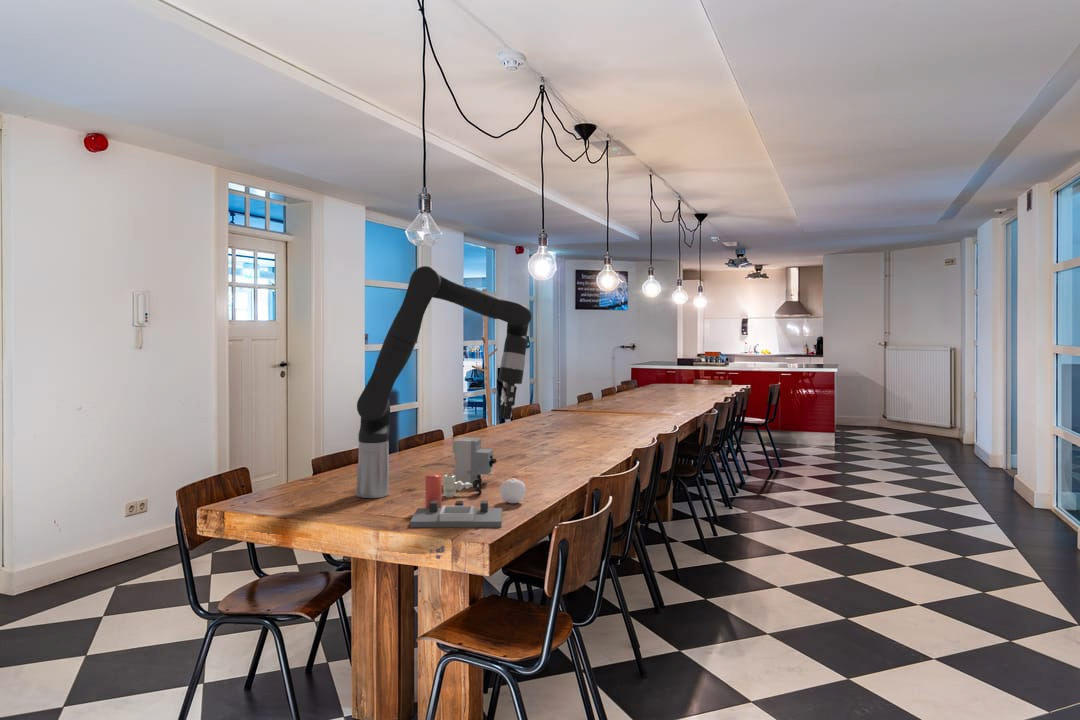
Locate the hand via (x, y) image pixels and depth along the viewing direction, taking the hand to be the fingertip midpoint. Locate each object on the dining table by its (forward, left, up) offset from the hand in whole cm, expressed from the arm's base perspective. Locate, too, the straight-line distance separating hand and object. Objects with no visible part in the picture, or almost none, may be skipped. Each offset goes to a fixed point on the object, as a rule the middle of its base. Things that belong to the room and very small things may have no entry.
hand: (504, 418), depth 209 cm
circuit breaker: (-10, +21, -25) cm, 34 cm away
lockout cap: (-20, -16, -25) cm, 36 cm away
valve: (-13, +2, -25) cm, 28 cm away
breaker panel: (-12, -27, -25) cm, 39 cm away
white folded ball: (+3, -8, -25) cm, 26 cm away
